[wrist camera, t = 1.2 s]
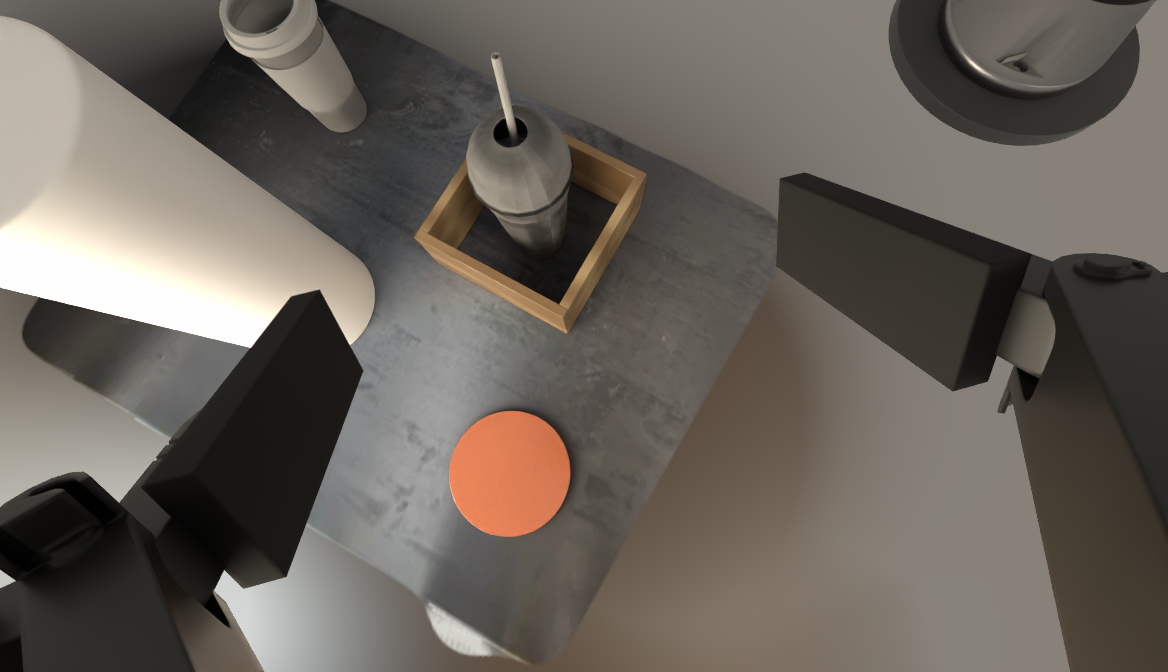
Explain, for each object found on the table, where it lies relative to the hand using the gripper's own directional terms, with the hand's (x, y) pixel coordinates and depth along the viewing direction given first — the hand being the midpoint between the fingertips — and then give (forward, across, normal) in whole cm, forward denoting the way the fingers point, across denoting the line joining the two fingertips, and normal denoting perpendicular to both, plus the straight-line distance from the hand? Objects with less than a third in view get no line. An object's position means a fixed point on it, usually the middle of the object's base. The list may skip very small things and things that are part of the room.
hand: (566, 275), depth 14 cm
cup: (+42, -15, +3) cm, 45 cm away
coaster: (+16, -7, -24) cm, 29 cm away
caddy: (+30, 0, -9) cm, 31 cm away
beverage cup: (+30, 0, -9) cm, 31 cm away
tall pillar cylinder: (+30, -21, -10) cm, 38 cm away
